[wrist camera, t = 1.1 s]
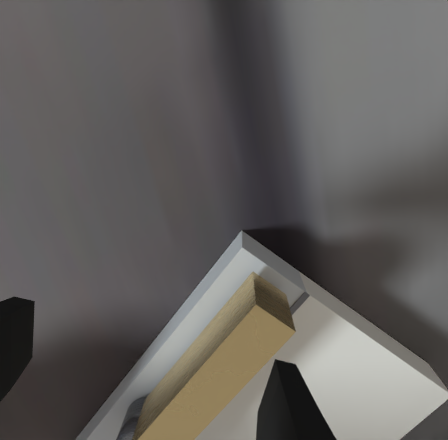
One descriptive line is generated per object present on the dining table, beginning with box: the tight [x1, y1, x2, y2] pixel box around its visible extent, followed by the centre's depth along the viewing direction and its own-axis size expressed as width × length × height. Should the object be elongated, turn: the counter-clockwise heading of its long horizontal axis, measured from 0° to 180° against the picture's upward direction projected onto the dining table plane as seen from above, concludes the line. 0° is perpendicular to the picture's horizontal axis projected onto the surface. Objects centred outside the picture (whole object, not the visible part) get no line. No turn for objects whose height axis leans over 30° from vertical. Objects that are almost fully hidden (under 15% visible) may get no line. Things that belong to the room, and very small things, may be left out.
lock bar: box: [116, 272, 296, 440], centre depth 17 cm, size 12×3×3 cm, turn 144°
